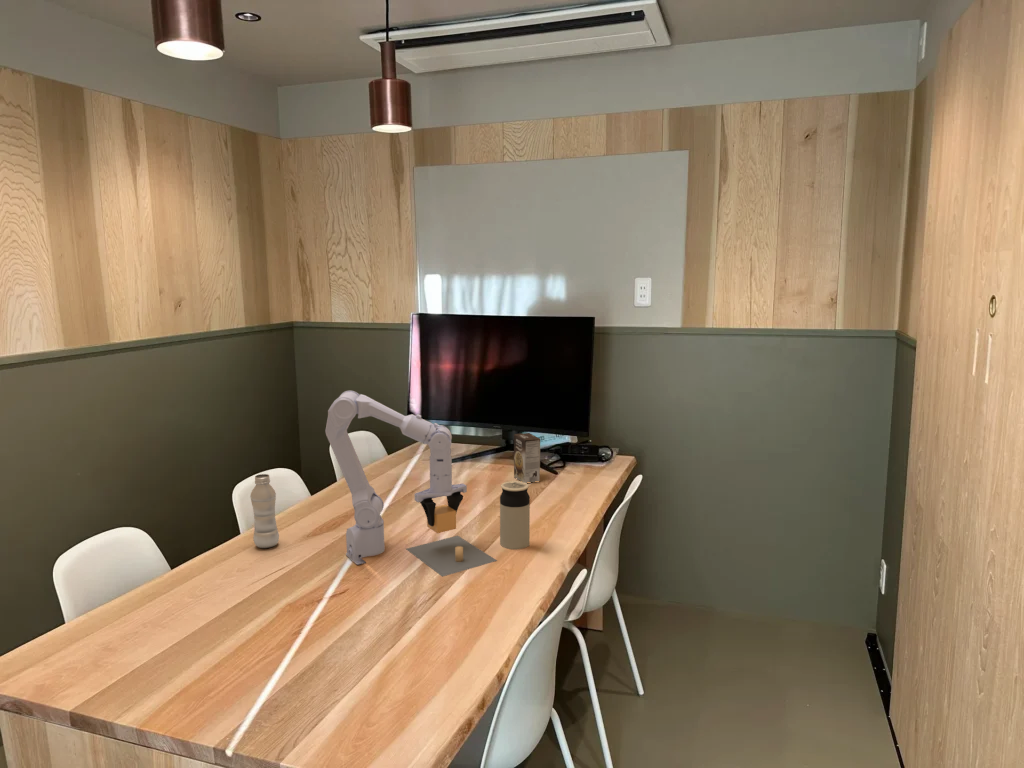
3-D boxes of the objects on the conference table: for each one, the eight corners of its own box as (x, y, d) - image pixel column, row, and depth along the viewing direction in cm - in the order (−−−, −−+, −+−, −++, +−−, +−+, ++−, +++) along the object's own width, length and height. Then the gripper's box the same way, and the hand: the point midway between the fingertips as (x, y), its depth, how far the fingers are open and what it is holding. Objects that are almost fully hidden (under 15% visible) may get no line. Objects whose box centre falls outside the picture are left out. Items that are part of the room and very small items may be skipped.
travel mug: (526, 555, 184) (526, 490, 180) (497, 553, 185) (497, 488, 182) (531, 543, 191) (532, 481, 188) (503, 541, 193) (503, 479, 190)
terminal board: (442, 582, 168) (442, 562, 167) (405, 554, 185) (405, 536, 184) (497, 566, 177) (497, 547, 176) (457, 540, 193) (457, 523, 193)
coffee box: (513, 477, 250) (513, 434, 247) (529, 475, 253) (529, 432, 250) (524, 484, 242) (524, 439, 239) (540, 482, 245) (540, 437, 242)
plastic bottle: (271, 551, 186) (267, 480, 182) (248, 549, 187) (244, 478, 184) (284, 542, 192) (280, 473, 189) (262, 540, 193) (257, 471, 190)
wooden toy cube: (437, 533, 179) (437, 515, 179) (427, 526, 184) (426, 508, 183) (456, 528, 183) (455, 510, 182) (445, 522, 187) (445, 504, 186)
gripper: (423, 481, 173) (424, 533, 176) (472, 472, 181) (472, 521, 184) (410, 474, 179) (411, 524, 181) (458, 465, 187) (459, 513, 190)
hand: (441, 522), depth 183 cm, fingers closed on wooden toy cube, 6 cm apart
